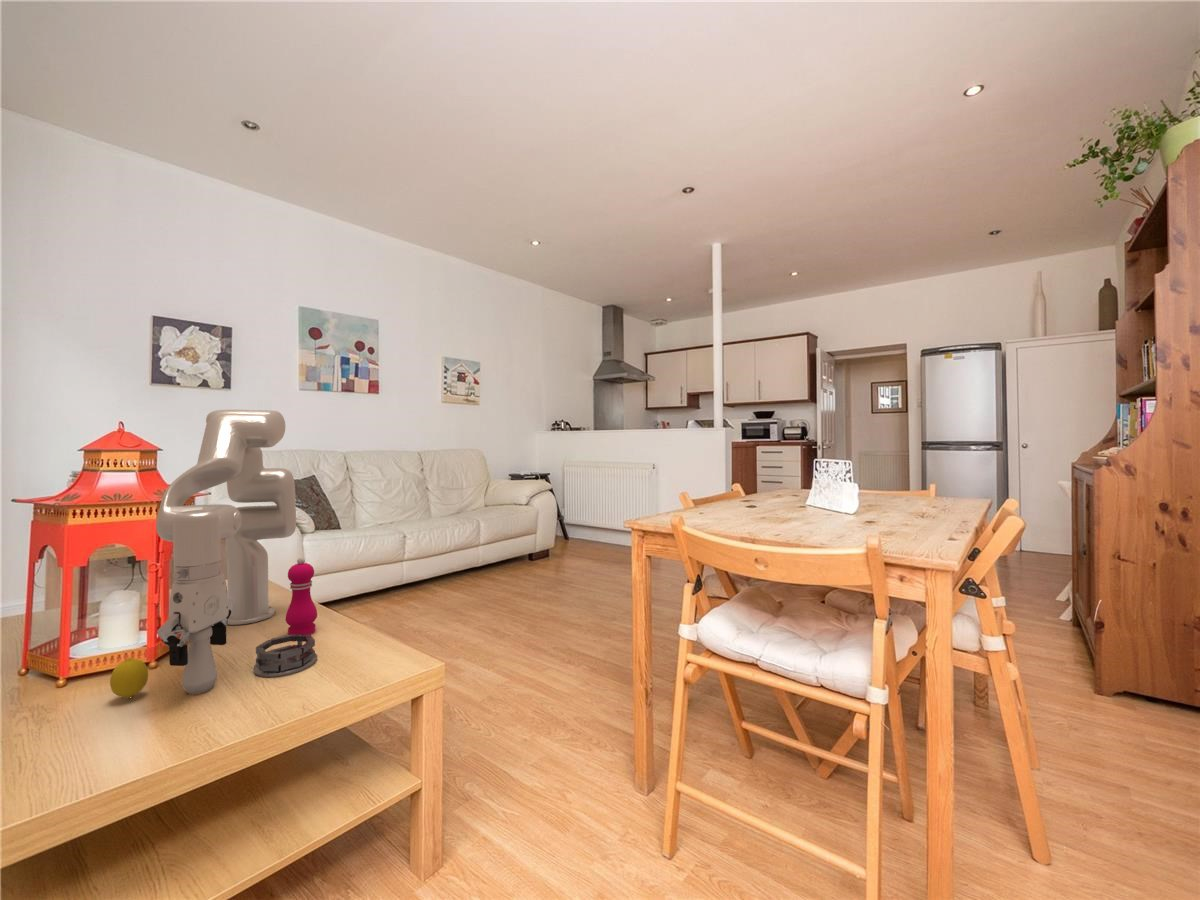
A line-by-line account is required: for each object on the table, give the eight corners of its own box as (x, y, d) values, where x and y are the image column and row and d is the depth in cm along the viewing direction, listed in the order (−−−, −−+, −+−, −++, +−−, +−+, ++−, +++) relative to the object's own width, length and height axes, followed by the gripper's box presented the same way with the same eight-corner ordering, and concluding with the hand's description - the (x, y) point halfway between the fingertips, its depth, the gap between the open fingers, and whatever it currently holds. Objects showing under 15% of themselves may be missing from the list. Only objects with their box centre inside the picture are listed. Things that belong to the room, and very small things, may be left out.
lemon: (118, 694, 103) (117, 655, 102) (153, 689, 105) (152, 650, 105) (104, 707, 98) (103, 666, 97) (141, 702, 100) (140, 661, 99)
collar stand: (239, 676, 110) (238, 654, 110) (278, 652, 123) (277, 632, 123) (295, 678, 110) (294, 656, 110) (328, 653, 122) (328, 633, 122)
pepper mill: (323, 628, 138) (322, 554, 137) (305, 639, 131) (304, 561, 130) (298, 627, 138) (297, 553, 138) (279, 637, 131) (278, 560, 131)
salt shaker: (178, 699, 101) (176, 634, 100) (185, 686, 106) (184, 624, 105) (214, 692, 103) (213, 629, 103) (220, 680, 109) (219, 620, 108)
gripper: (178, 584, 95) (180, 674, 96) (247, 561, 112) (248, 638, 113) (140, 583, 95) (142, 673, 96) (214, 560, 113) (215, 637, 113)
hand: (199, 654), depth 104 cm, fingers open, 9 cm apart
